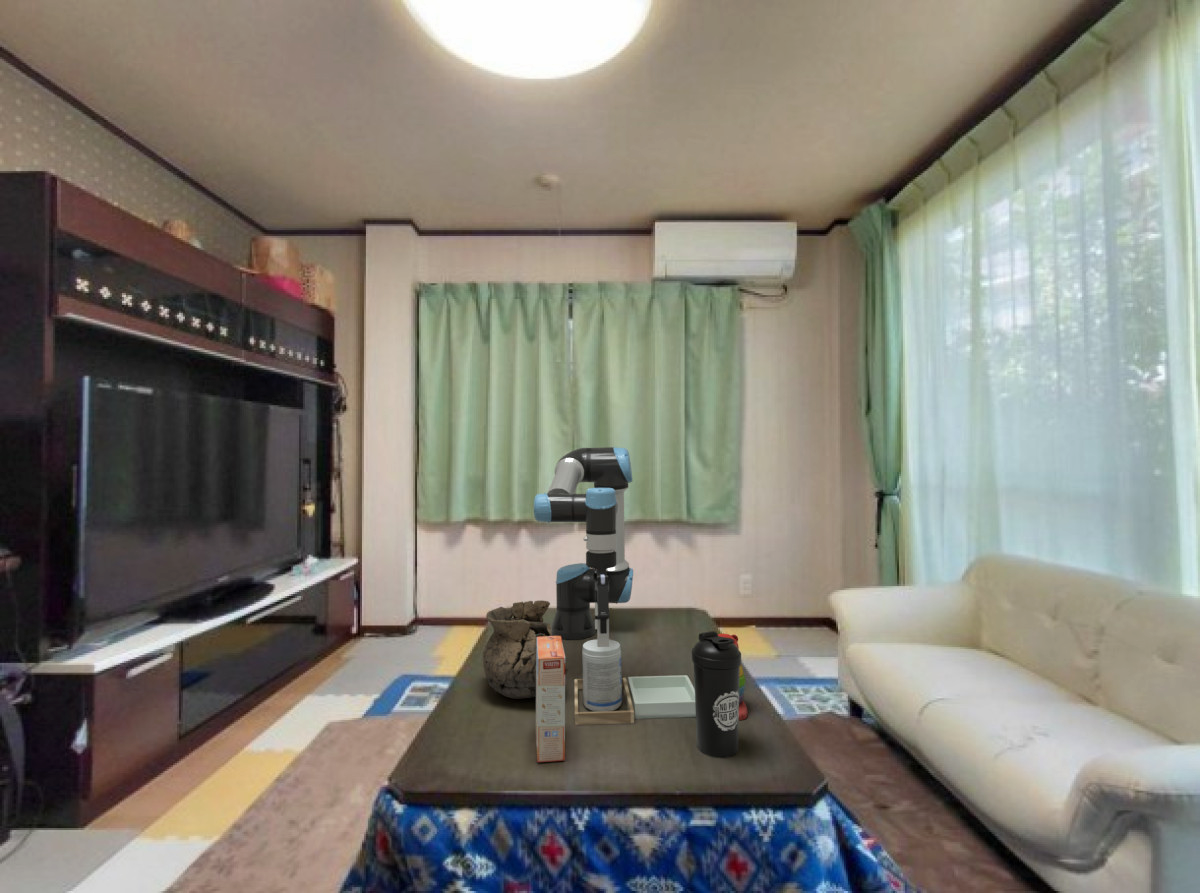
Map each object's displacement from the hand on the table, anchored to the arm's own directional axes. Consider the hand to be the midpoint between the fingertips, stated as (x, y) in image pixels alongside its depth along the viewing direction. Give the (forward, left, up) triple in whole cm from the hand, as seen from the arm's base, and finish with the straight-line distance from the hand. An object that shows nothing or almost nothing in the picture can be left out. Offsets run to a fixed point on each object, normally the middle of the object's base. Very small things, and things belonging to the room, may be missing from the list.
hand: (601, 637), depth 134 cm
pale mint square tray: (0, +15, -17) cm, 22 cm away
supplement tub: (0, 0, -17) cm, 17 cm away
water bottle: (+21, +23, -17) cm, 35 cm away
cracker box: (+18, -12, -17) cm, 27 cm away
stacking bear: (+4, +30, -17) cm, 34 cm away
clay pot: (-9, -20, -17) cm, 27 cm away
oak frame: (0, 0, -17) cm, 17 cm away
